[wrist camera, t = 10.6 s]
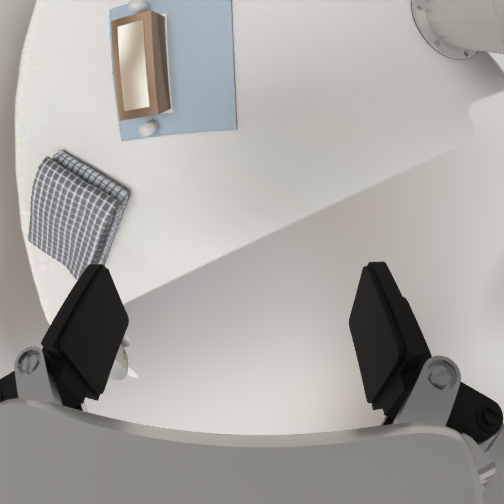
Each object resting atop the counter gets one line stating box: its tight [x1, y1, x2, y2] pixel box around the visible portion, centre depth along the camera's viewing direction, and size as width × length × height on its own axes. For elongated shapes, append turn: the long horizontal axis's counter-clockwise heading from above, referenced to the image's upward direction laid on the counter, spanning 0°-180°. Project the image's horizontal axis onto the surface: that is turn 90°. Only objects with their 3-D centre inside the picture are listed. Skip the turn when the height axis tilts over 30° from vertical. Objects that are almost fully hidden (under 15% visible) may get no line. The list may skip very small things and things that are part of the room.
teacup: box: [108, 344, 128, 380], centre depth 59 cm, size 15×12×8 cm
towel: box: [28, 150, 129, 279], centre depth 39 cm, size 15×18×8 cm
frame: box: [111, 10, 171, 121], centre depth 27 cm, size 5×13×5 cm, turn 2°
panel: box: [110, 0, 237, 141], centre depth 28 cm, size 16×20×4 cm
